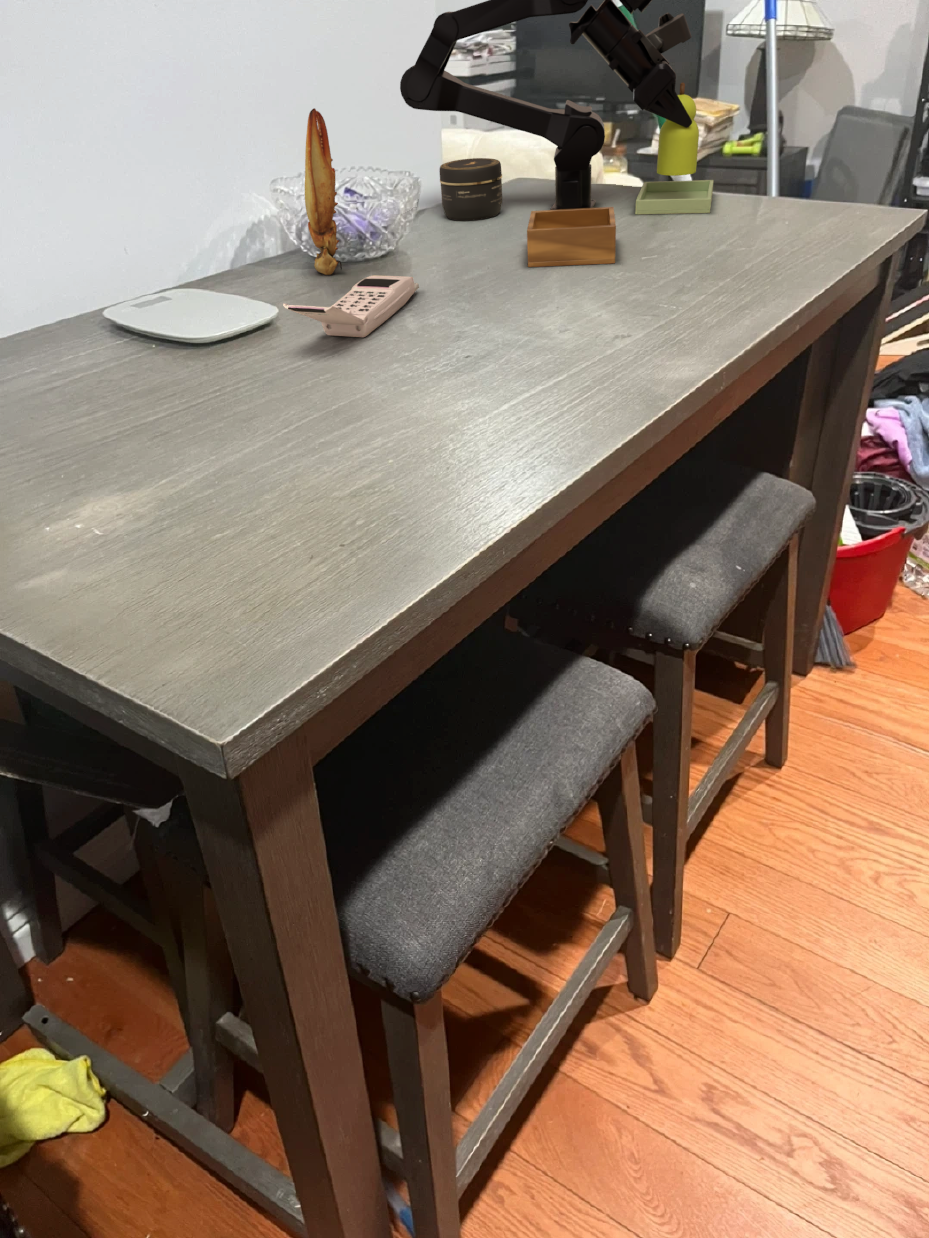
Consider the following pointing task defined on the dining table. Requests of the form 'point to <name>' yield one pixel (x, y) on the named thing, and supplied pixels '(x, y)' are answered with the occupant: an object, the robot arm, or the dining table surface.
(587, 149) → the robot arm
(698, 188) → the tray
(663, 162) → the pear
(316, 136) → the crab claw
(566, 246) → the wooden box
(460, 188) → the jar
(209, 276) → the dining table surface
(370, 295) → the mobile phone
